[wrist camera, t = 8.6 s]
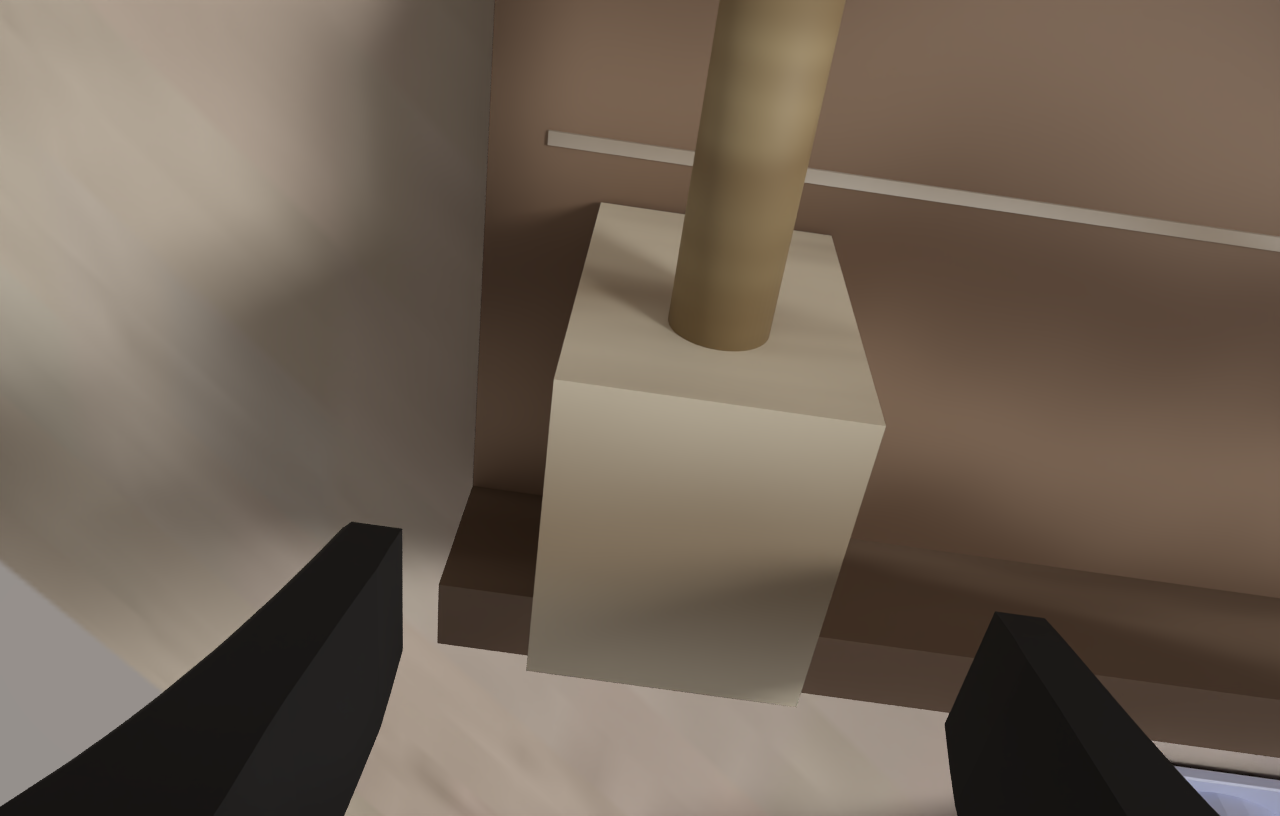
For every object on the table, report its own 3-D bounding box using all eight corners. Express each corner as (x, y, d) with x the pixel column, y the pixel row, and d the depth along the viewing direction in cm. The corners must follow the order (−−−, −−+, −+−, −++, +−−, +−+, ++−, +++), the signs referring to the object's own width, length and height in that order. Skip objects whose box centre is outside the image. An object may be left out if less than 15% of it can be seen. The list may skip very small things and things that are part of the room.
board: (1489, 625, 23) (1665, 809, 19) (487, 485, 23) (437, 643, 18) (2008, 1, 16) (2493, 75, 11) (527, -226, 15) (457, -237, 11)
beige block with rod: (772, 469, 19) (796, 708, 14) (574, 441, 19) (526, 670, 14) (912, -87, 14) (1029, -25, 9) (637, -129, 14) (598, -89, 9)
